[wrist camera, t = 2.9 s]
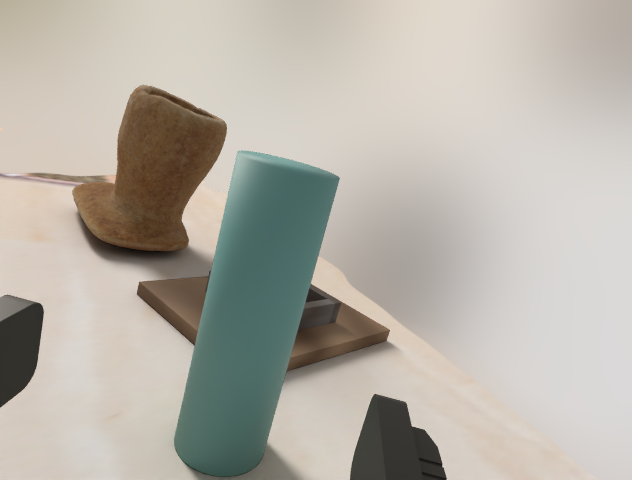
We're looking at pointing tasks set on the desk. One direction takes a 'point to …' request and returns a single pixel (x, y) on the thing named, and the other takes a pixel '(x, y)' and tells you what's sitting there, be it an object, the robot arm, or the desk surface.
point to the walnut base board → (313, 332)
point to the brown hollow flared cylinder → (153, 172)
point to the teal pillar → (252, 310)
